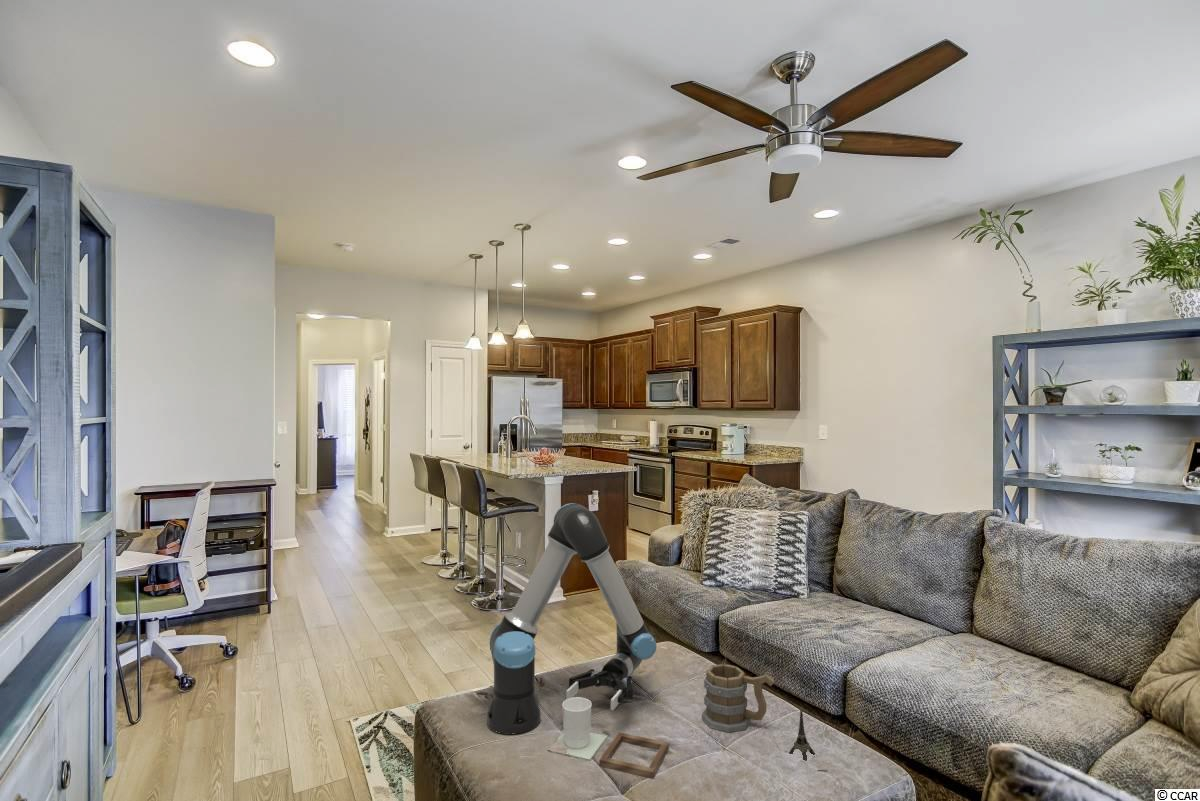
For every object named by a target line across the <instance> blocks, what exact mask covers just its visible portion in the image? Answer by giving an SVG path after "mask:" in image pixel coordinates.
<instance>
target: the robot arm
mask: <svg viewBox="0 0 1200 801" xmlns="http://www.w3.org/2000/svg"><path fill="white" fill-rule="evenodd" d="M547 538H548V544H547V545H546V548H545V550H544V551H543V553H542V555H541V556H540V559H539V560H538V562H537V565H536V566H535V569H534V571H533V572H532V574H531V576H530V578H529V579H528V581H527V583H526V585H525V587H524V589H523V591H522V593H521V594H520V597H519V598H518V600H517V602H516V604H515V606H514V608H513V609H512V611H510V612H506V613H505V615H504V616H503V618H502V620H501V622H500V623H498V624H497V625H496V626H495V627H494V629H493V630H492V632H491V634H490V638H489V650H490V653H491V659H492V661H493V662H492V664H493V697H492V700H491V703H490V706H489V708H488V712H487V723H488V724H487V727H488V726H489V727H490V728H491V729H492V730H491V729H490V728H489V727H488V728H489V729H490V730H491V731H493V730H494V731H497V732H500V733H499V734H501V733H506V734H505V735H513V734H512V733H520V734H524V733H528V732H530V731H532V730H534V729H535V728H536V727H538V726H539V724H540V723H541V708H540V706H539V702H538V699H537V698H538V697H537V695H536V692H535V686H536V685H535V684H536V683H535V679H536V678H535V671H536V670H535V668H536V667H535V663H536V662H535V660H536V658H535V656H536V645H535V638H536V636H537V635H538V633H539V632H538V631H539V630H538V627H537V624H538V622H539V620H540V618H541V617H542V614H543V613H544V611H545V608H546V607H547V605H548V603H549V601H550V599H551V597H552V596H553V593H554V591H555V589H556V587H557V586H558V584H559V583H560V580H561V578H562V576H563V575H564V572H565V571H566V569H567V567H568V565H569V563H570V561H571V560H572V557H573V556H574V555H578V557H579V559H580V561H581V562H582V563H583V562H584V563H586V565H587V567H588V569H589V571H590V573H591V575H592V576H593V579H594V581H595V583H596V585H597V586H598V588H599V591H600V592H601V594H602V597H603V598H604V600H605V602H606V603H605V604H607V606H608V608H609V610H610V612H611V614H612V616H613V618H614V620H615V622H616V624H615V625H616V653H615V654H614V656H612V657H611V658H610V659H609V660H608V661H607V662H606V663H605V665H603V667H602V669H601V671H598V672H595V670H594V669H592V668H591V669H589V670H587V671H586V672H583V673H580V674H577V675H574V676H572V677H569V678H568V687H567V688H568V689H567V690H565V694H566V695H565V696H566V697H565V698H566V699H565V700H567V699H569V698H574V696H576V694H578V692H579V690H582V689H587V688H590V687H596V688H598V687H602V686H603V687H608V688H612V689H613V691H616V693H615V694H614V695H613V697H612V698H611V699H610V711H614V710H615V709H616V707H617V706H618V705H620V704H622V703H624V701H625V700H627V699H629V700H631V701H633V700H634V687H633V676H631V675H632V674H633V673H634V671H635V670H636V669H637V668H638V667H640V665H641V663H642V661H646V660H649V659H651V658H652V657H653V656H654V655H655V654H656V651H657V642H656V639H655V638H654V636H653V635H652V634H651V633H650V631H649V629H648V628H647V626H646V624H645V622H644V620H643V617H642V615H641V613H640V612H639V609H638V607H637V605H636V603H635V602H634V599H633V597H632V595H631V593H630V592H629V590H628V587H627V586H626V583H625V582H624V580H623V577H622V575H621V574H620V571H619V569H618V568H617V565H616V564H615V561H614V559H613V557H612V555H611V553H610V552H609V548H610V544H609V541H608V539H607V538H606V535H605V533H604V529H602V525H601V524H600V521H599V519H598V517H597V516H596V514H595V513H593V511H591V510H590V509H588V508H587V507H585V506H584V505H582V504H579V503H576V502H575V503H572V502H571V503H566V504H564V505H562V506H560V507H559V509H558V510H557V511H556V512H555V514H554V518H553V524H552V527H551V528H550V530H549V532H548V534H547ZM623 684H624V685H625V686H624V685H623ZM494 731H493V732H494ZM497 732H496V733H497ZM507 733H508V734H507Z"/></svg>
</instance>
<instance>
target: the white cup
mask: <svg viewBox="0 0 1200 801" xmlns="http://www.w3.org/2000/svg"><path fill="white" fill-rule="evenodd" d="M561 705H562V706H561V707H562V708H561V709H562V724H563V725H562V727H563V732H564V740H565V745H566V746H567V747H570V748H574V749H579V748H584V747H585V746H587V745H588V744H589V742H590V732H591V725H592V701H591V700H589V699H588V698H585V697H581V696H579V697H578V696H577V697H576V696H575V697H574V696H573V697H572V698H569V699H567V700H566V699H565V700H564V701H563V702H562V704H561Z"/></svg>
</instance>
